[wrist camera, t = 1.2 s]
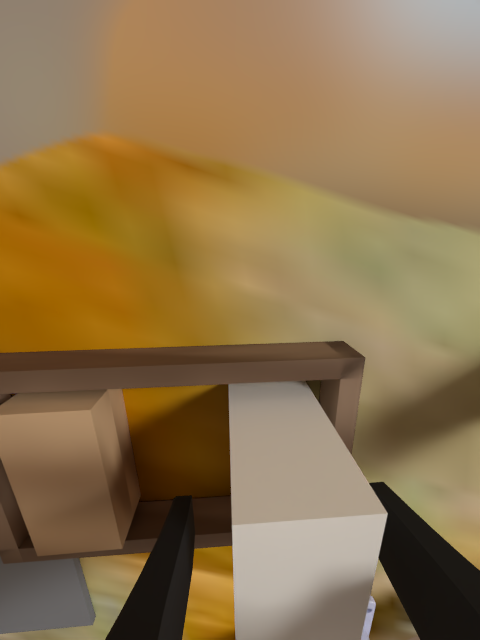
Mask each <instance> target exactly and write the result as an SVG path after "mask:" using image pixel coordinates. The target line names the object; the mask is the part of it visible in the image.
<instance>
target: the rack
mask: <svg viewBox="0 0 480 640" xmlns="http://www.w3.org/2000/svg"><path fill="white" fill-rule="evenodd" d="M364 363H365V357H364V356H362V355H361V354H360V353H358V352H357V351H356V350H354V349H353V348H352V347H350V346H349V345H348V344H346V343H345V342H344V341H334V342H306V343H277V344H248V345H220V346H191V347H162V348H134V349H105V350H76V351H48V352H19V353H0V405H1V404H3V403H4V402H6V401H7V400H9V399H10V398H11V395H10V394H11V393H34V392H56V391H79V390H102V389H125V388H148V387H171V386H193V385H216V384H239V383H262V382H285V381H308V380H321V386H320V397H319V404H320V405H321V407H322V409H323V410H324V412H325V413H326V415H327V417H328V418H329V420H330V422H331V423H332V425H333V426H334V428H335V430H336V431H337V433H338V434H339V436H340V438H341V439H342V441H343V442H344V444H345V446H346V447H347V449H348V450H349V452H350V454H352V447H353V440H354V433H355V426H356V419H357V412H358V405H359V398H360V391H361V384H362V377H363V370H364ZM172 502H173V500H165V501H151V502H138V505H137V508H136V510H135V513H134V516H133V519H132V522H131V525H130V528H129V531H128V534H127V537H126V539H125V542H124V545H123V548H122V549H114V550H103V551H92V552H80V553H69V554H58V555H46V556H37V553H36V551H35V548H34V545H33V543H32V540H31V537H30V535H29V532H28V529H27V527H26V524H25V521H24V519H23V516H22V514H21V511H20V508H19V506H18V503H17V500H16V498H15V495H14V492H13V490H12V487H11V484H10V482H9V479H8V476H7V474H6V471H5V468H4V466H3V463H2V461H1V458H0V557H1V559H2V562H3V564H10V563H22V562H35V561H47V560H59V559H72V558H84V557H97V556H109V555H121V554H134V553H146V552H151V551H152V549H153V547H154V545H155V543H156V541H157V538H158V536H159V534H160V532H161V529H162V527H163V525H164V522H165V520H166V518H167V515H168V513H169V510H170V507H171V505H172ZM192 503H193V514H194V525H195V543H194V549H195V548H208V547H220V546H232V545H233V542H232V507H231V496H223V497H208V498H194V499H192Z"/></svg>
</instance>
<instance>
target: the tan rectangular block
mask: <svg viewBox="0 0 480 640" xmlns="http://www.w3.org/2000/svg"><path fill="white" fill-rule="evenodd" d="M0 458H1V461H2V463H3V466H4V468H5V471H6V474H7V476H8V479H9V482H10V484H11V487H12V490H13V492H14V495H15V498H16V500H17V503H18V506H19V508H20V511H21V514H22V516H23V519H24V521H25V524H26V527H27V529H28V532H29V535H30V537H31V540H32V543H33V545H34V548H35V551H36V553H37V556H46V555H58V554H69V553H80V552H92V551H103V550H114V549H122V548H123V545H124V542H125V539H126V537H127V534H128V531H129V528H130V525H131V522H132V519H133V516H134V513H135V510H136V508H137V505H138V502H139V499H140V496H141V493H140V487H139V482H138V476H137V471H136V465H135V460H134V454H133V448H132V443H131V437H130V432H129V426H128V421H127V415H126V410H125V404H124V399H123V393H122V389H102V390H79V391H56V392H34V393H18V394H16V395H15V396H13V397H12V398H10V399H9V400H7V401H6V402H4V403H3V404H1V405H0Z"/></svg>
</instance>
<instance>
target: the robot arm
mask: <svg viewBox="0 0 480 640" xmlns="http://www.w3.org/2000/svg"><path fill="white" fill-rule="evenodd" d="M369 484H370V486H371V487H372V489H373V491H374V492H375V494H376V495H377V497H378V499H379V500H380V502H381V503H382V505H383V507H384V508H385V510H386V512H387V513H388V515H387V519H386V524H385V529H384V533H383V538H382V543H381V547H380V552H379V557H378V558H379V560H380V562H381V564H382V566H383V568H384V570H385V572H386V574H387V576H388V578H389V580H390V582H391V584H392V586H393V587H394V589H395V591H396V593H397V595H398V597H399V599H400V601H401V603H402V605H403V607H404V609H405V611H406V613H407V615H408V617H409V619H410V620H411V622H412V624H413V626H414V628H415V630H416V632H417V634H418V636H419V638H420V640H480V570H478V569H477V568H476V567H475V566H474V565H473V564H471V563H470V562H469V561H468V560H467V559H466V558H464V557H463V556H462V555H461V554H460V553H459V552H458V551H457V550H455V549H454V548H453V547H452V546H451V545H450V544H449V543H448V542H447V541H446V540H444V539H443V538H442V537H441V536H440V535H439V534H438V533H437V532H436V531H435V530H433V529H432V528H431V527H430V526H429V525H428V524H427V523H426V522H425V521H424V520H423V519H422V518H421V517H420V516H419V515H417V514H416V513H415V512H414V511H413V510H412V509H411V508H410V507H409V506H408V505H407V504H406V503H405V502H404V501H403V500H402V499H401V498H400V497H399V496H397V495H396V494H395V493H394V492H393V491H392V490H391V489H390V488H389V487H388V486H387V485H386V484H385V483H384V482H376V483H369ZM194 543H195V525H194V514H193V503H192V495H190V496H176V497H175V498H174V499H173V502H172V505H171V507H170V510H169V513H168V515H167V518H166V520H165V522H164V525H163V527H162V529H161V532H160V534H159V536H158V538H157V541H156V543H155V545H154V547H153V549H152V551H151V553H150V555H149V558H148V560H147V562H146V564H145V566H144V568H143V570H142V572H141V574H140V576H139V578H138V580H137V582H136V584H135V586H134V588H133V589H132V591H131V593H130V595H129V597H128V599H127V601H126V603H125V605H124V607H123V609H122V610H121V612H120V614H119V616H118V618H117V619H116V621H115V623H114V625H113V627H112V628H111V630H110V632H109V634H108V635H107V637H106V639H105V640H182V635H183V629H184V622H185V615H186V609H187V602H188V596H189V589H190V582H191V575H192V568H193V556H194ZM375 606H376V603H375V601H374V599H373V597H372V596H370V599H369V604H368V608H367V613H366V618H365V622H364V627H363V632H362V636H361V640H369V632H370V628H371V623H372V619H373V615H374V610H375Z"/></svg>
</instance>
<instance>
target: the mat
mask: <svg viewBox="0 0 480 640" xmlns="http://www.w3.org/2000/svg"><path fill="white" fill-rule="evenodd" d="M95 617H96V616H95V613H94V609H93V606H92V602H91V599H90V595H89V592H88V589H87V585H86V582H85V578H84V575H83V571H82V568H81V564H80V561H79V558H72V559H59V560H47V561H35V562H22V563H10V564H3V562H2V559H1V557H0V634H4V633H15V632H25V631H36V630H46V629H56V628H67V627H77V626H88V625H93V623H94V620H95Z"/></svg>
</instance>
